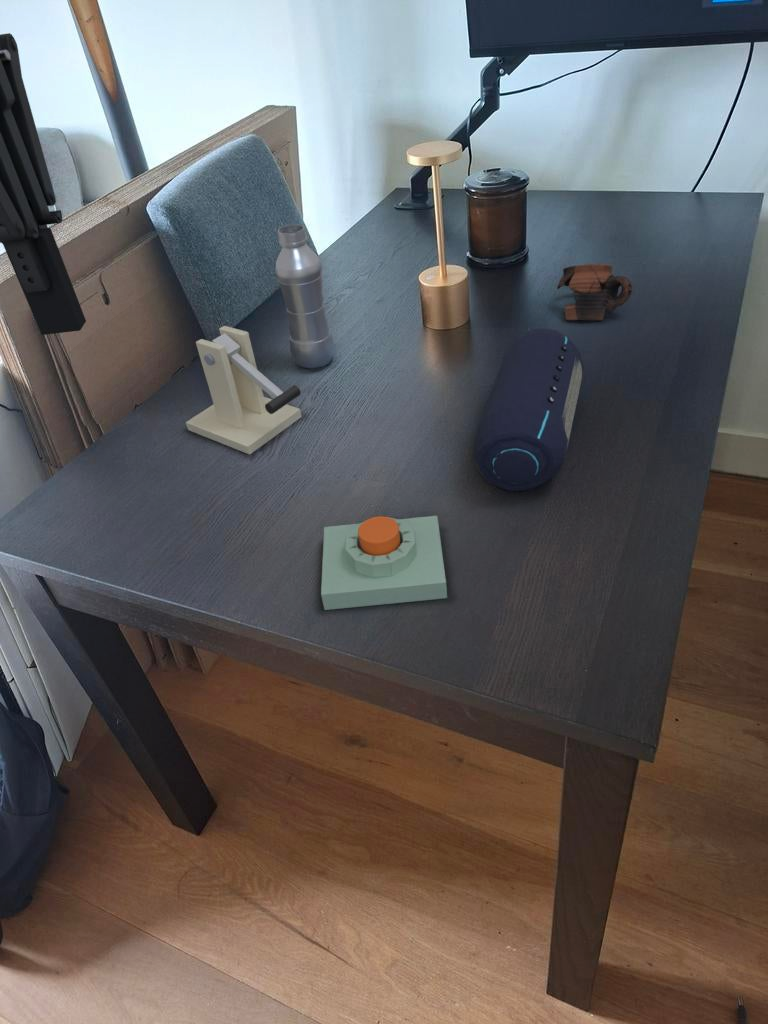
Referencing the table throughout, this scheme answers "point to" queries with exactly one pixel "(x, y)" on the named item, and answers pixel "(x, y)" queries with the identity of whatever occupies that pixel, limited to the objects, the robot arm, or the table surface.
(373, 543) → the button
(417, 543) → the button block
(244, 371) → the lever
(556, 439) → the portable speaker
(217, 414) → the bracket
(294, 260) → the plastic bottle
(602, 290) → the pottery mug
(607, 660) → the table surface
